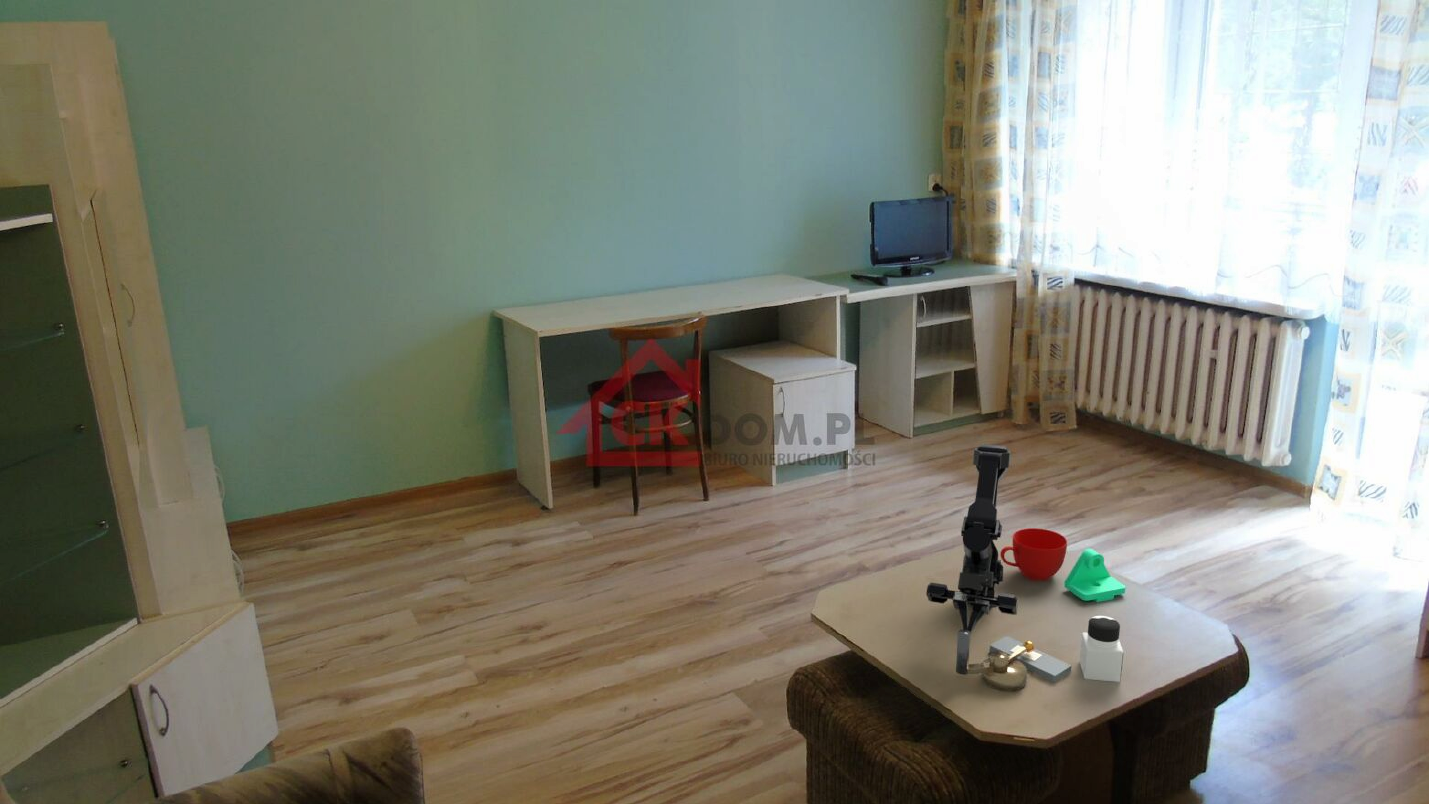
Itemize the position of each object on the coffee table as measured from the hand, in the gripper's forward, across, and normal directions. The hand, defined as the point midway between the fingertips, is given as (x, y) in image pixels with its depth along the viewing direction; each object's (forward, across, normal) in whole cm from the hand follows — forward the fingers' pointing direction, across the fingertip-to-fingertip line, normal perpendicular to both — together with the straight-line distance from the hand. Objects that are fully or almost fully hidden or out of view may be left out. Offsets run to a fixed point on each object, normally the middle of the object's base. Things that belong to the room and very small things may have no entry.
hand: (966, 637), depth 210 cm
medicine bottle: (0, +27, +9) cm, 28 cm away
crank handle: (+6, +7, +2) cm, 10 cm away
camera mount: (-24, +25, +35) cm, 49 cm away
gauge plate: (+1, +13, +8) cm, 15 cm away
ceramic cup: (-28, +9, +38) cm, 47 cm away
